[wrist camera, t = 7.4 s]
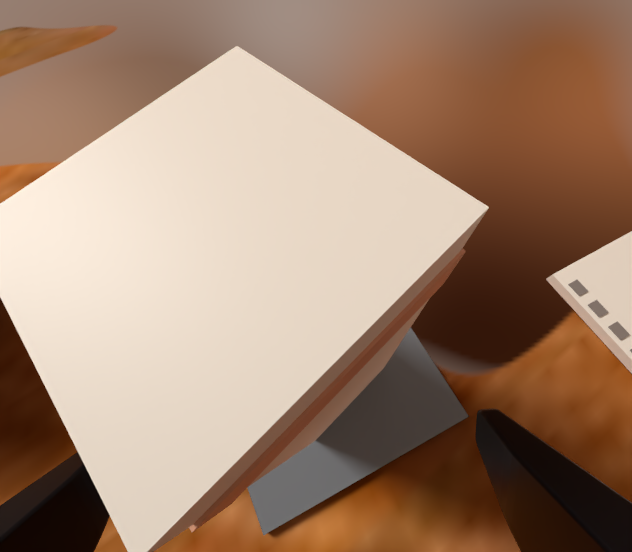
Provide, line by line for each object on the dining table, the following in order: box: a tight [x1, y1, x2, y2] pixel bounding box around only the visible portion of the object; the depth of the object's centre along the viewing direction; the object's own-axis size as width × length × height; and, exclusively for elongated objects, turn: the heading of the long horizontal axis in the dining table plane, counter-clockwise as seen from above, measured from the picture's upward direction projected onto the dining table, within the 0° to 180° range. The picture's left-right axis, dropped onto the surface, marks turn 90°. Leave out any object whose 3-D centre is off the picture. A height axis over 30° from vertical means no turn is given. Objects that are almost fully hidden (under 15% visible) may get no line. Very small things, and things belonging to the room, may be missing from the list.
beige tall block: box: [0, 46, 489, 552], centre depth 10 cm, size 5×5×13 cm
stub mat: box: [247, 327, 469, 535], centre depth 16 cm, size 10×10×1 cm
